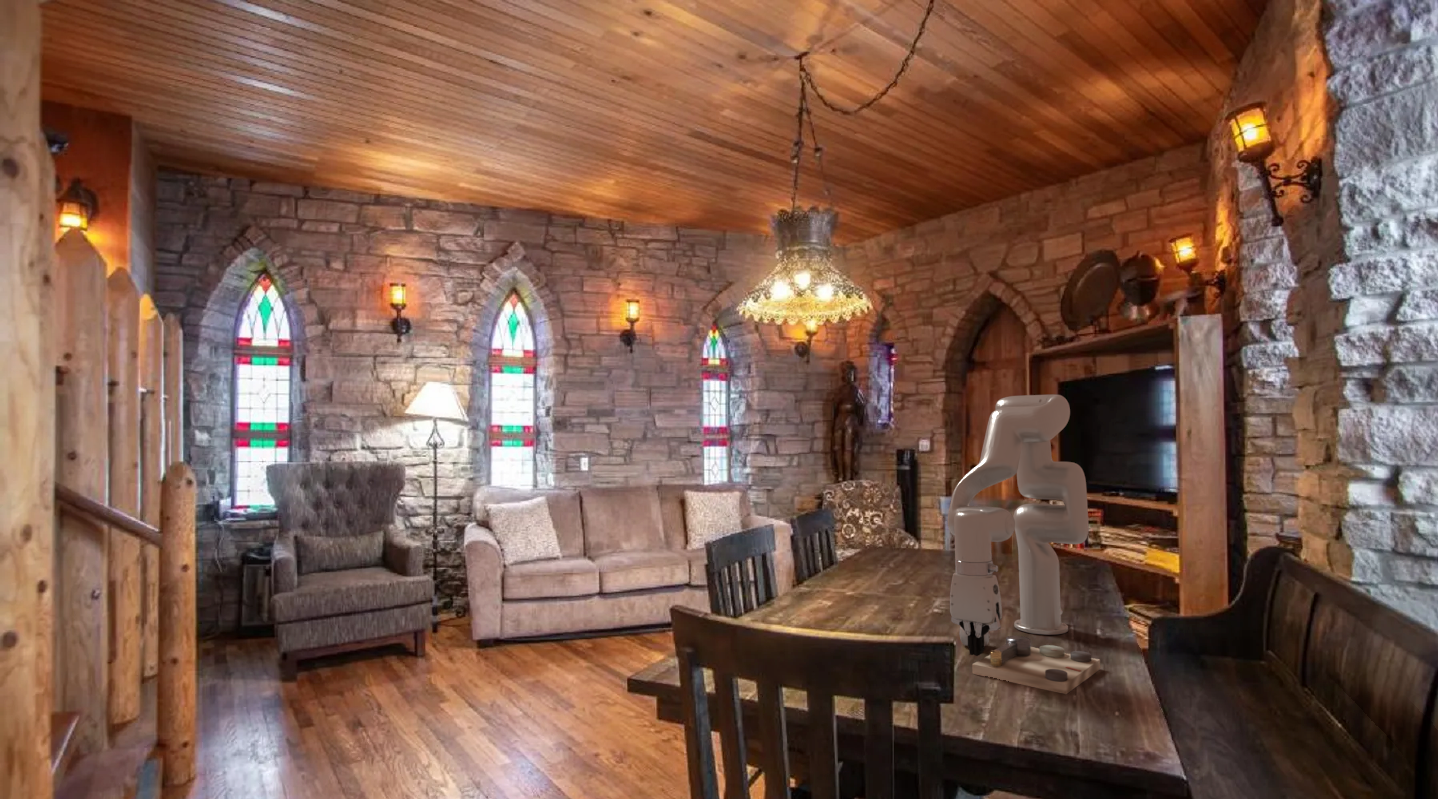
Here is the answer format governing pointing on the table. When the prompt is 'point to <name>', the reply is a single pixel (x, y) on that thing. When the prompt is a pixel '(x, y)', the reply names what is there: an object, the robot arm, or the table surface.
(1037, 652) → the plate
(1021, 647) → the grey lever handle
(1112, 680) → the table surface
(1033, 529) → the robot arm
